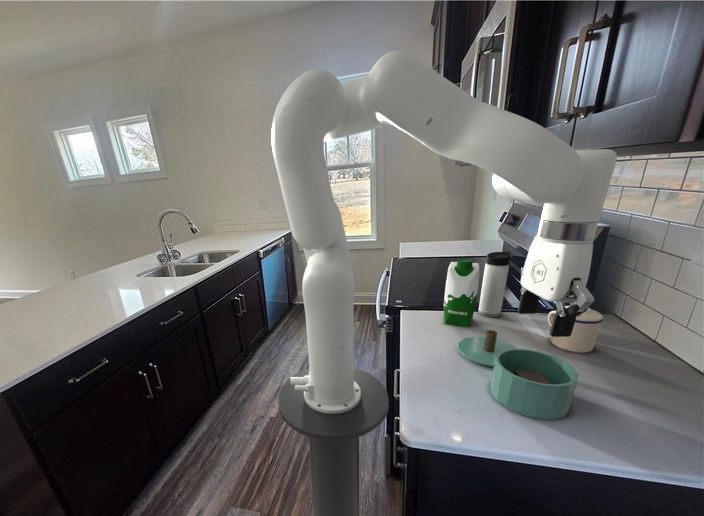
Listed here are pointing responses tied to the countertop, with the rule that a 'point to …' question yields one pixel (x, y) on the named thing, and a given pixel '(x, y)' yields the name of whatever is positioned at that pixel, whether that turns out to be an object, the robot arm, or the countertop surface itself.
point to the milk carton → (461, 292)
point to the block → (532, 376)
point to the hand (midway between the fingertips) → (541, 323)
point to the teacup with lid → (579, 332)
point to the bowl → (533, 383)
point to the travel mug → (494, 283)
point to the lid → (483, 348)
